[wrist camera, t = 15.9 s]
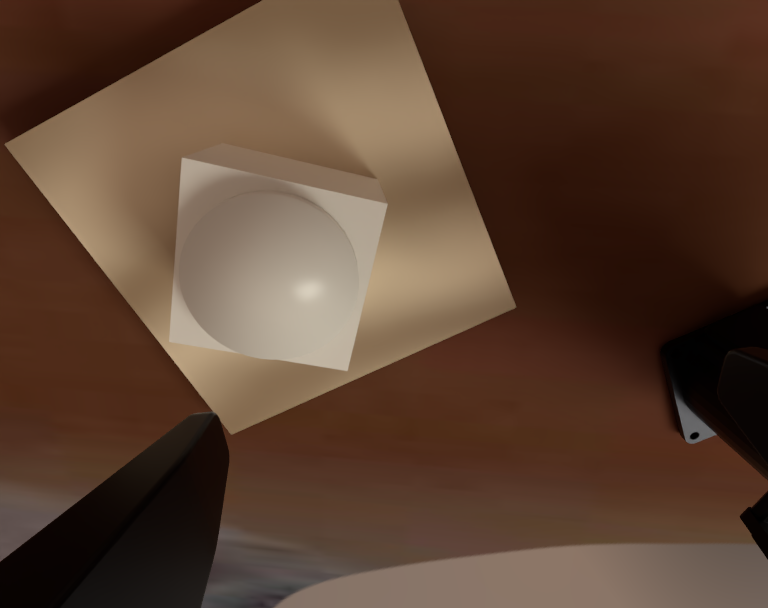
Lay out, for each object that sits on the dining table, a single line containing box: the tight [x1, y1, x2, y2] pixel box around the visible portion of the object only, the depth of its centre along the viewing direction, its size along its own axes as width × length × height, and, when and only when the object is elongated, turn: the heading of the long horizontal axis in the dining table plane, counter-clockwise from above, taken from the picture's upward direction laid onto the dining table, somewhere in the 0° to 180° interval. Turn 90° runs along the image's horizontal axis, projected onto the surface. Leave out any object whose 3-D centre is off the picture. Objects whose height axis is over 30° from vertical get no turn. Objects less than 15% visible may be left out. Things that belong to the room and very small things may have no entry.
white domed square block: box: [169, 143, 388, 371], centre depth 16 cm, size 6×6×5 cm
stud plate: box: [4, 0, 516, 435], centre depth 17 cm, size 14×14×4 cm
